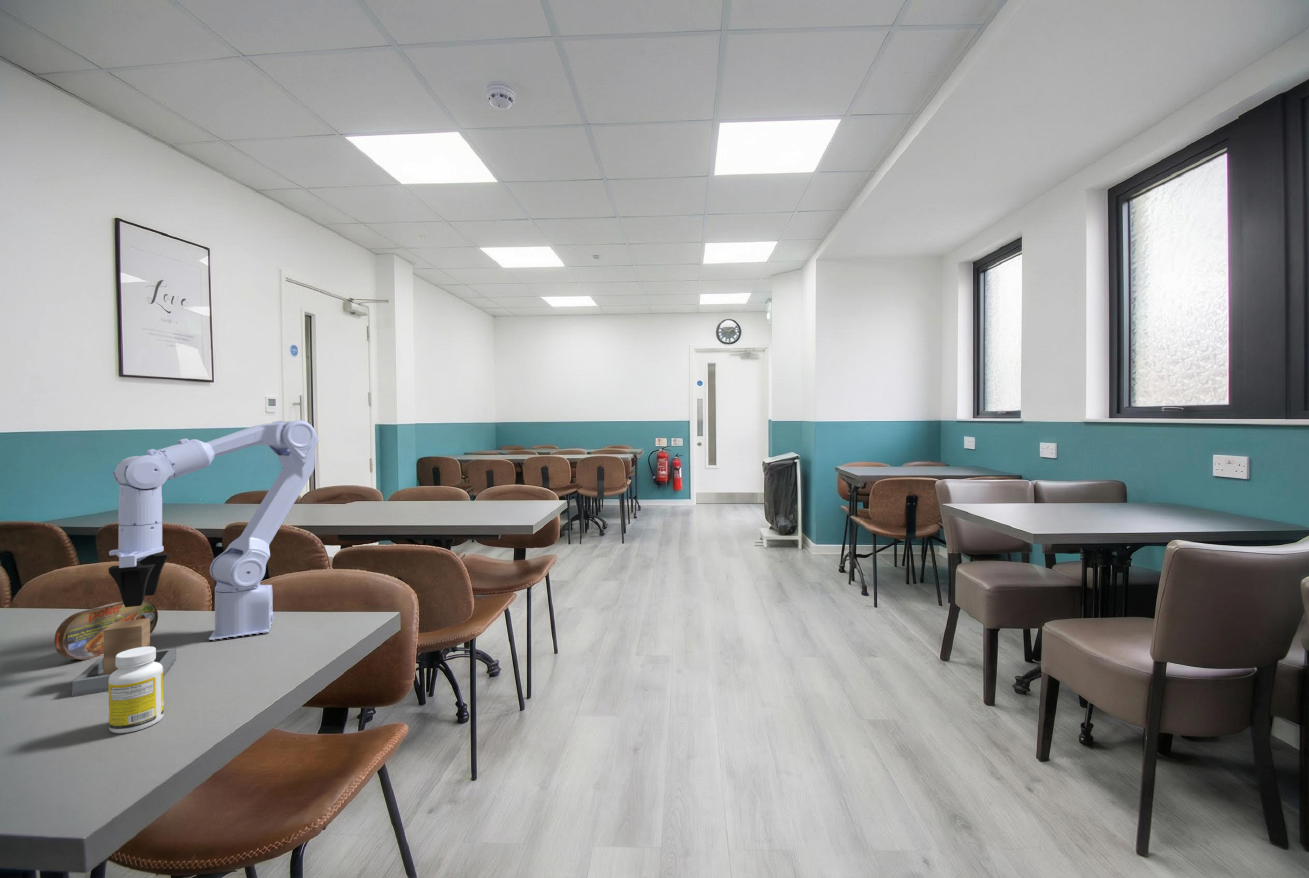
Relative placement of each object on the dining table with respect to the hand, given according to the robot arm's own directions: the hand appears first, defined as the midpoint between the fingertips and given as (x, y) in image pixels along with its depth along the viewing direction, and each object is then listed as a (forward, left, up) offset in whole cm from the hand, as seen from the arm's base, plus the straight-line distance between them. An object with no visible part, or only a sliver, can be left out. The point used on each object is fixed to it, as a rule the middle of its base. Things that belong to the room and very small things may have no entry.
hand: (140, 600), depth 99 cm
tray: (-1, +11, -10) cm, 14 cm away
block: (-1, +11, -9) cm, 14 cm away
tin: (+6, -7, -10) cm, 14 cm away
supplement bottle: (-7, +31, -10) cm, 33 cm away
